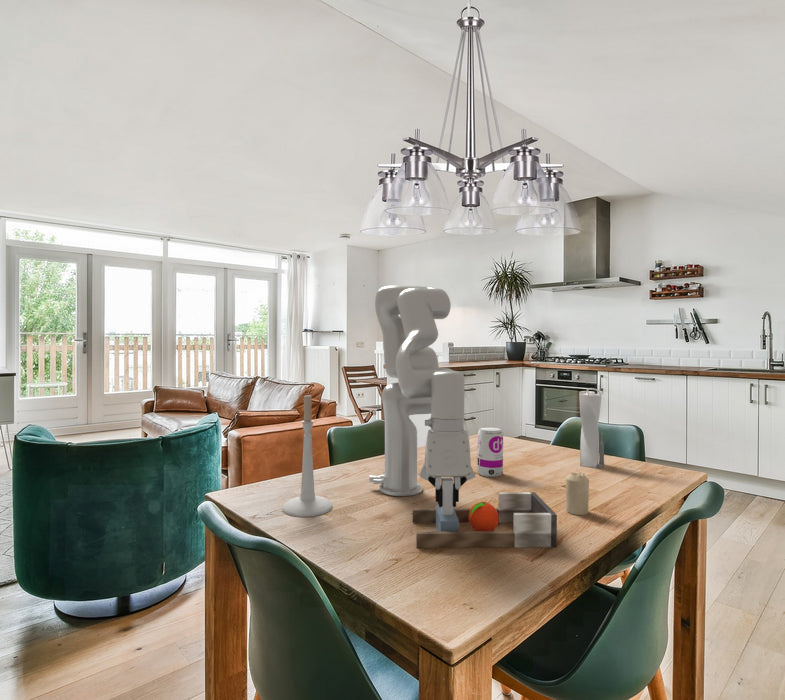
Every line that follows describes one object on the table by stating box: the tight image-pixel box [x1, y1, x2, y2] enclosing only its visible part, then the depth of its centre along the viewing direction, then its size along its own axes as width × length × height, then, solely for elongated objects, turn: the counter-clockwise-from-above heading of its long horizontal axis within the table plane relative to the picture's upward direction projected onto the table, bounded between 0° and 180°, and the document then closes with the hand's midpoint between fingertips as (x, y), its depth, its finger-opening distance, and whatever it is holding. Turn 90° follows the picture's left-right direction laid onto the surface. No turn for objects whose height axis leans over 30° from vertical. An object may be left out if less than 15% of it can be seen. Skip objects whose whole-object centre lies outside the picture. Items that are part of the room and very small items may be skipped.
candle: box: [565, 472, 590, 516], centre depth 127 cm, size 6×6×10 cm
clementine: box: [468, 501, 500, 531], centre depth 113 cm, size 8×7×7 cm
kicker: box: [435, 477, 460, 531], centre depth 112 cm, size 4×10×12 cm, turn 1°
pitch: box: [411, 491, 558, 549], centre depth 113 cm, size 30×15×7 cm, turn 91°
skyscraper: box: [578, 387, 605, 470], centre depth 173 cm, size 8×8×28 cm
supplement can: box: [477, 426, 504, 478], centre depth 162 cm, size 8×8×15 cm
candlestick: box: [282, 394, 333, 518], centre depth 129 cm, size 13×13×30 cm
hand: (446, 504), depth 112 cm, fingers closed on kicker, 2 cm apart
